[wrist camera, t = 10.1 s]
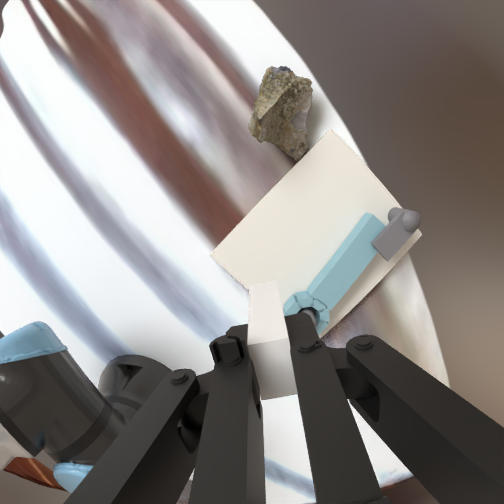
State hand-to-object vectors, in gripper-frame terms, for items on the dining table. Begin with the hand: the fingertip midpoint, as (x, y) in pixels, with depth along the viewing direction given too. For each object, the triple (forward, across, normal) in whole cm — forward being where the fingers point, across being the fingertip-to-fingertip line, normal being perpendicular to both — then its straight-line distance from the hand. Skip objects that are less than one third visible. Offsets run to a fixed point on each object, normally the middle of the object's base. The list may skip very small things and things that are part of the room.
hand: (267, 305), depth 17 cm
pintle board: (+22, +8, -2) cm, 24 cm away
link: (+21, +8, -7) cm, 23 cm away
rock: (+23, +6, +15) cm, 28 cm away
